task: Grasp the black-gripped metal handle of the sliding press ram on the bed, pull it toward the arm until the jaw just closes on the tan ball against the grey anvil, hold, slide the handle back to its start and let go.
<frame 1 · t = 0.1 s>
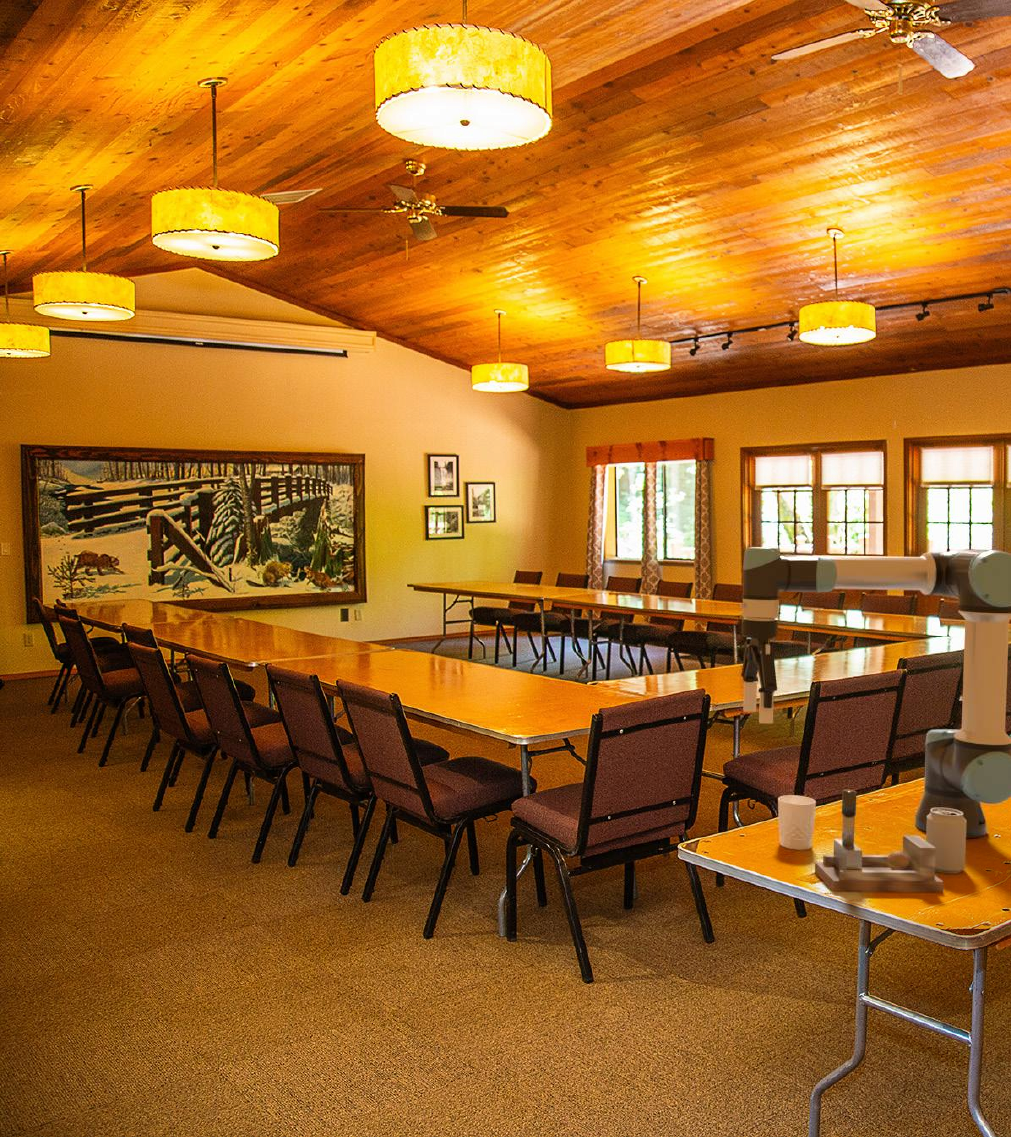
hand: (757, 717, 223), 28 cm above the table, fingers open, 13 cm apart
can: (944, 869, 211), on the table
tan ball: (897, 871, 202), point 2 cm above the table, touching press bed
ram: (848, 830, 202), point 10 cm above the table, slide at 0.0 cm
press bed: (877, 881, 202), on the table
white cup: (795, 846, 225), on the table
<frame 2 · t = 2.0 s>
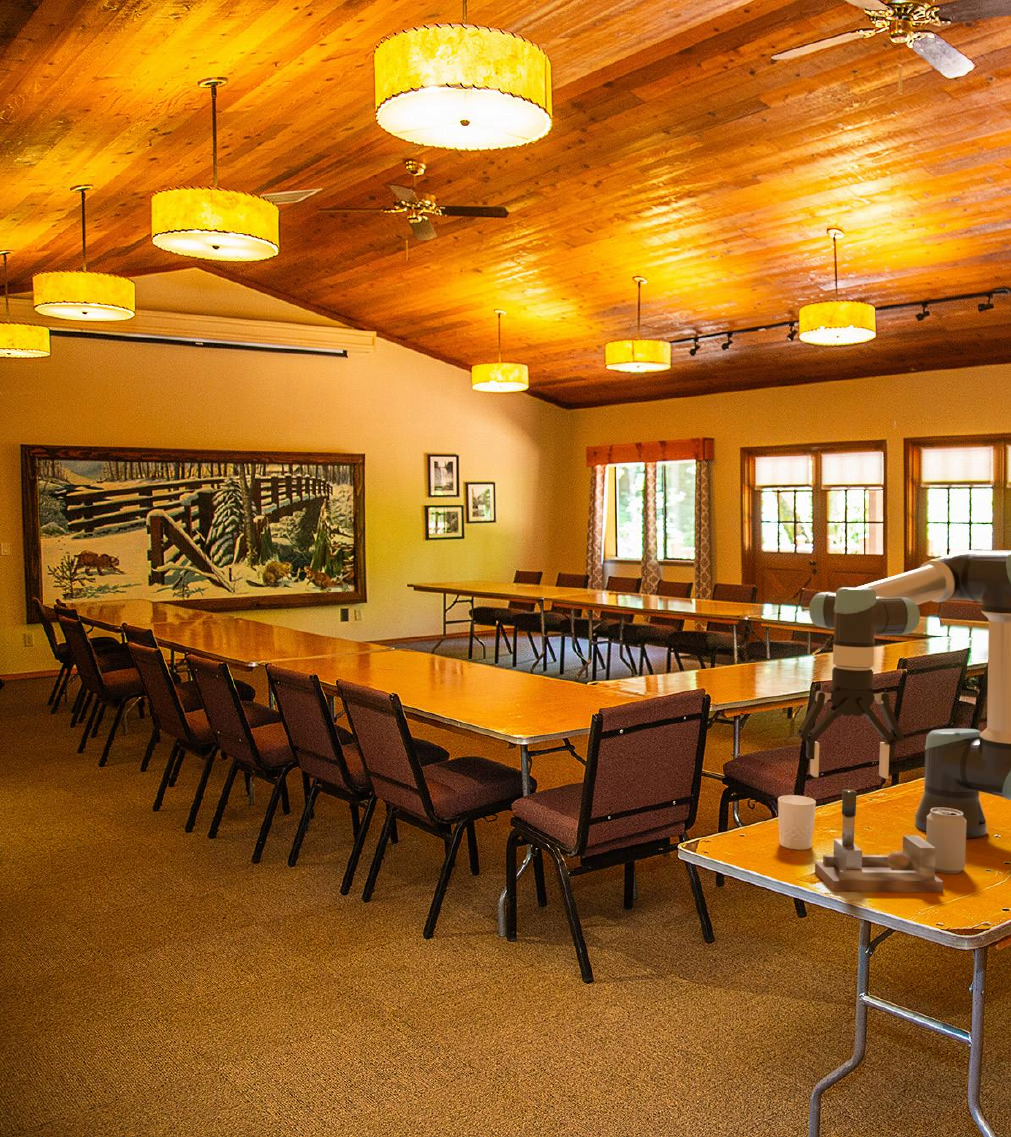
hand: (848, 776, 201), 21 cm above the table, fingers open, 13 cm apart
nothing on the table moved.
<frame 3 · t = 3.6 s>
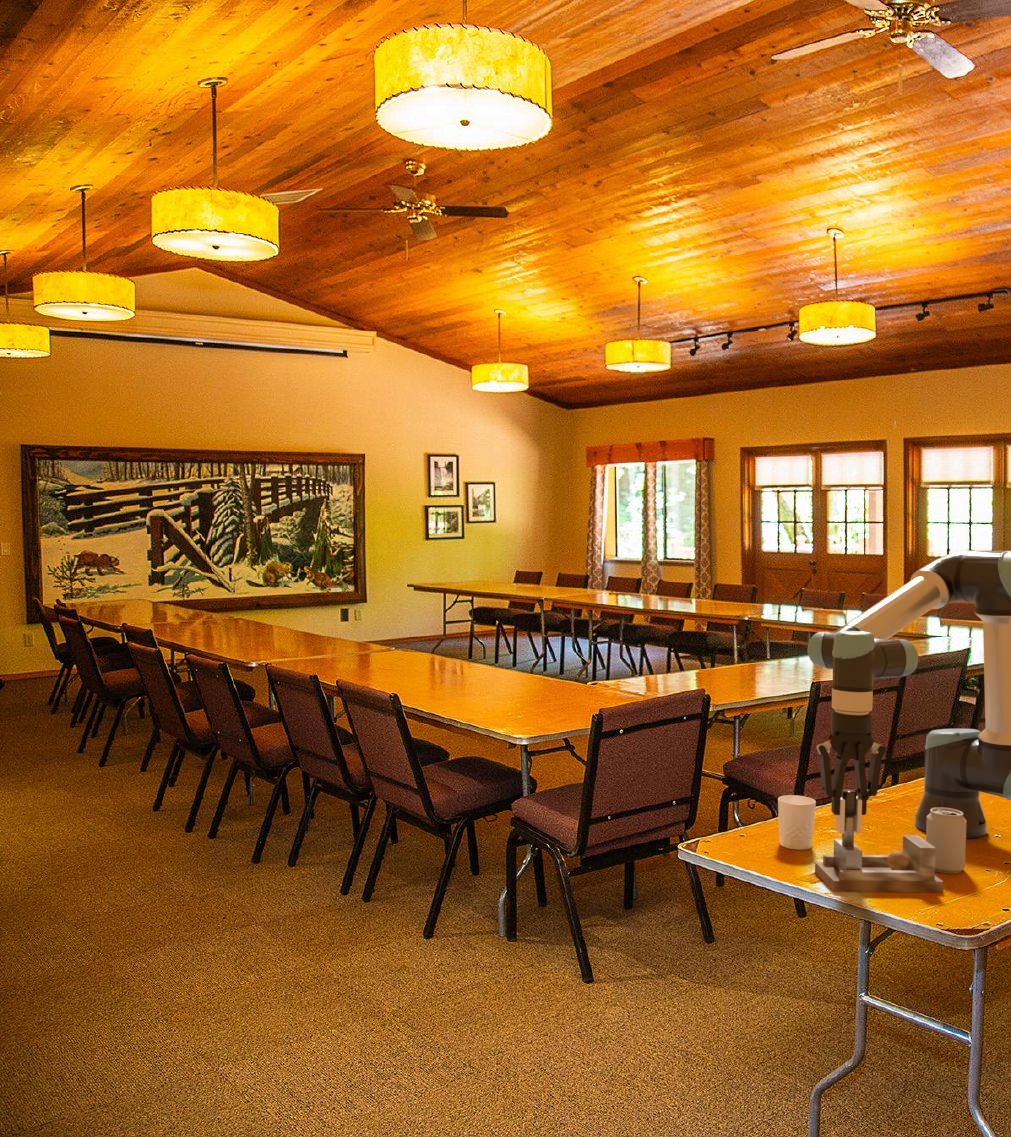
hand: (848, 830, 202), 10 cm above the table, fingers closed on ram, 3 cm apart
ram: (848, 830, 202), point 10 cm above the table, slide at 0.0 cm, touching gripper
everything else where it was.
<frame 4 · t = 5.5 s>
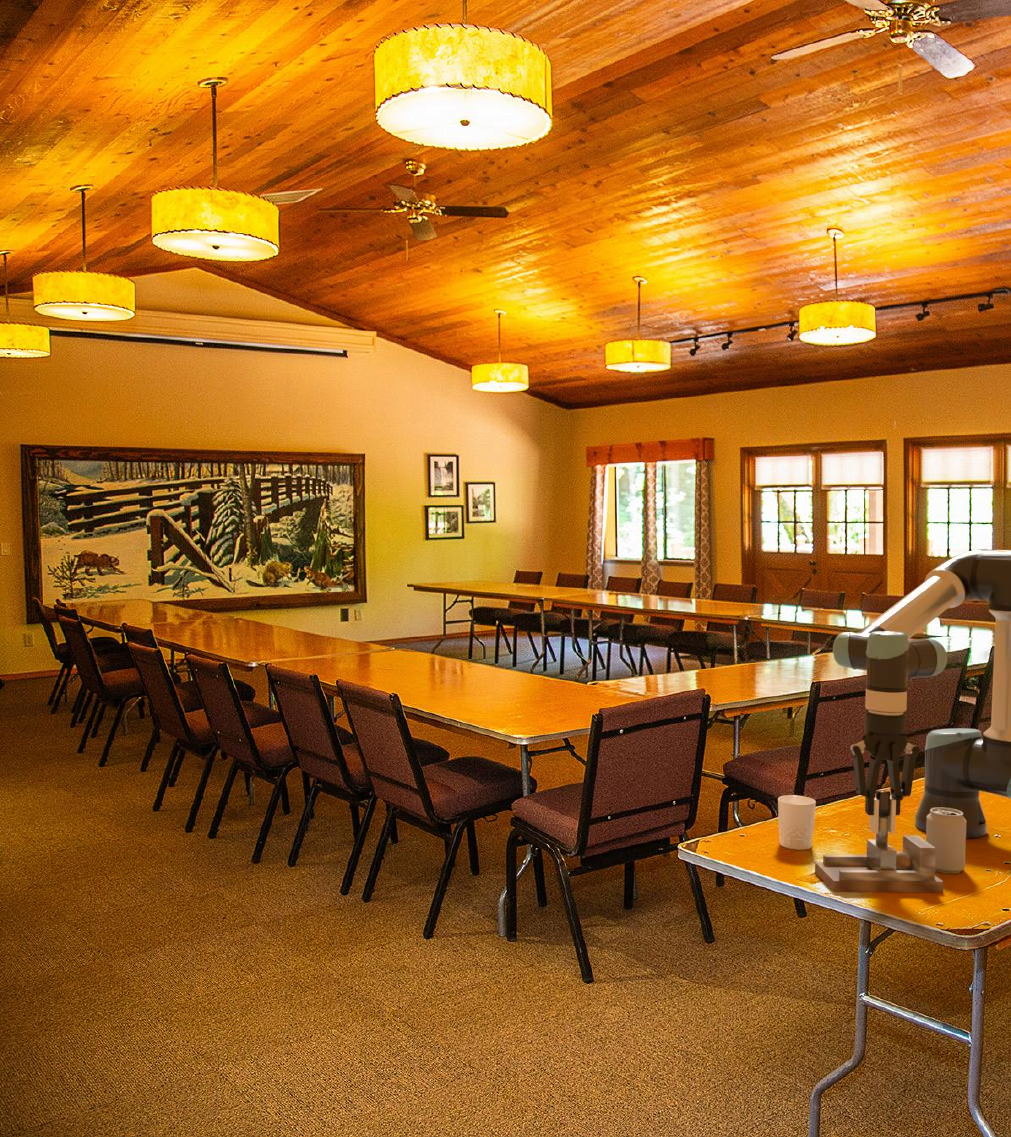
hand: (882, 831, 202), 10 cm above the table, fingers closed on ram, 3 cm apart
tan ball: (897, 871, 202), point 2 cm above the table, tilted 9°, touching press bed
ram: (881, 830, 202), point 10 cm above the table, slide at 6.6 cm, touching gripper
everything else where it was.
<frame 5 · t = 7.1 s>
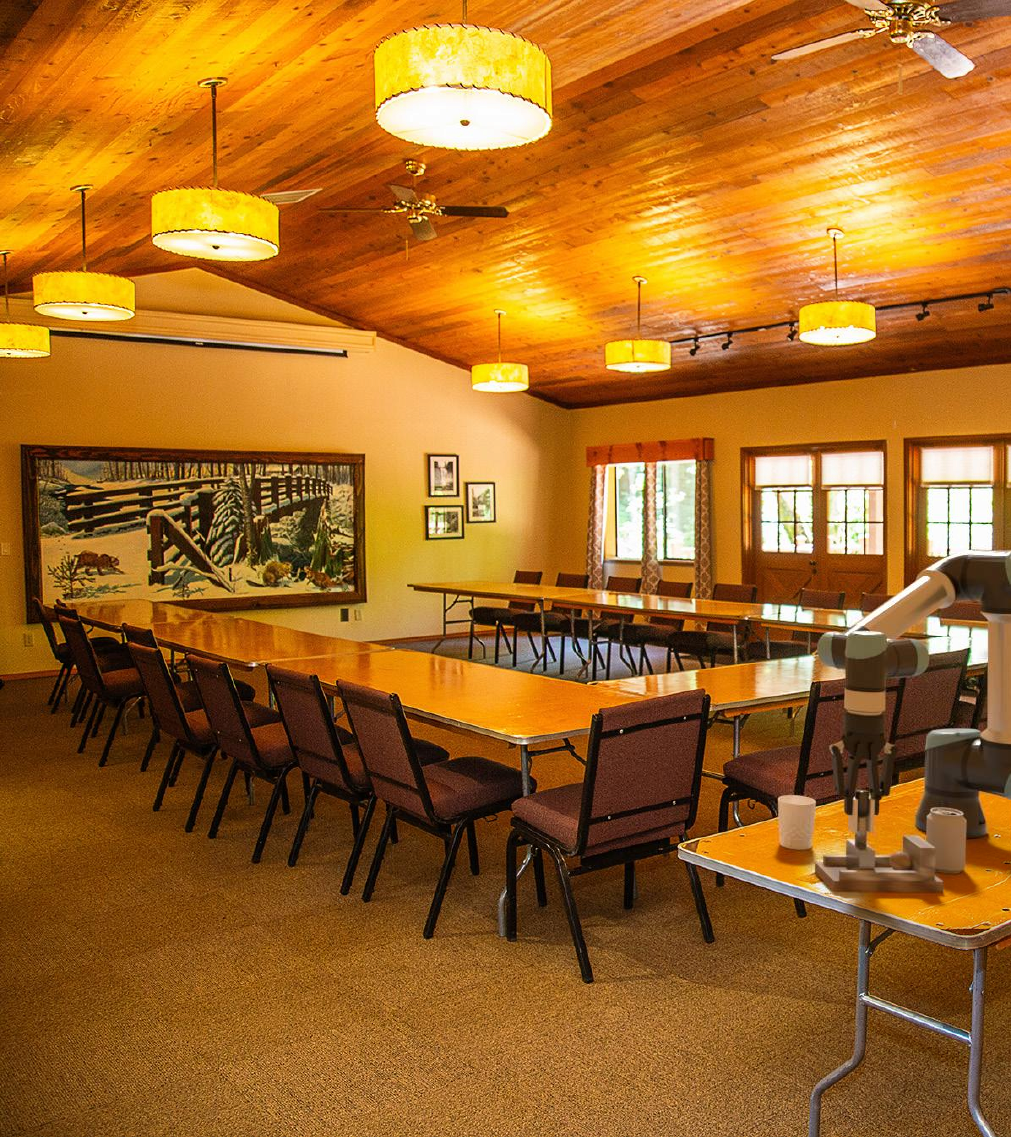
hand: (860, 830, 202), 10 cm above the table, fingers closed on ram, 3 cm apart
ram: (861, 830, 202), point 10 cm above the table, slide at 2.5 cm, touching gripper
everything else where it was.
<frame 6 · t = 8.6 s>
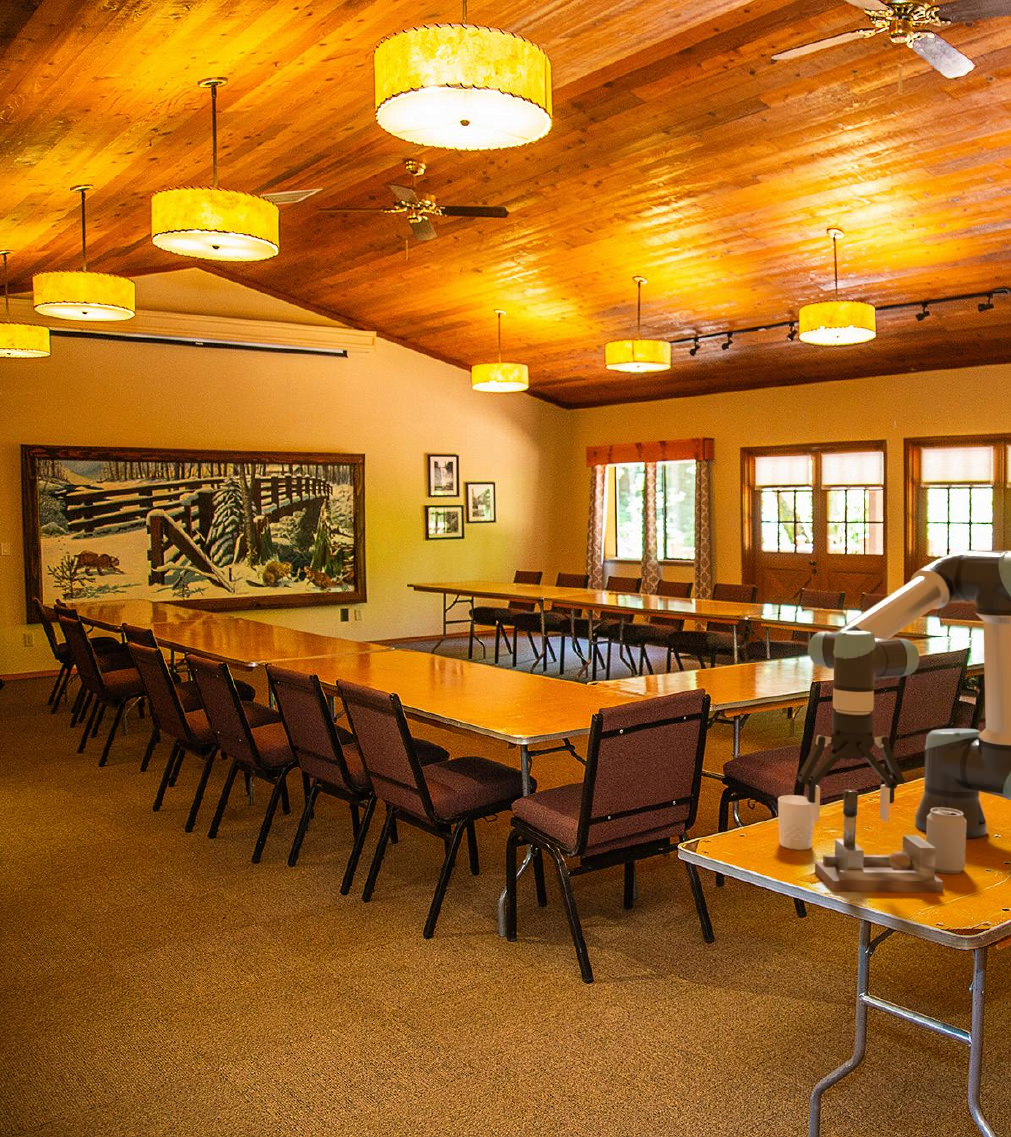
hand: (849, 819, 201), 12 cm above the table, fingers open, 13 cm apart
ram: (849, 830, 202), point 10 cm above the table, slide at 0.3 cm
everything else where it was.
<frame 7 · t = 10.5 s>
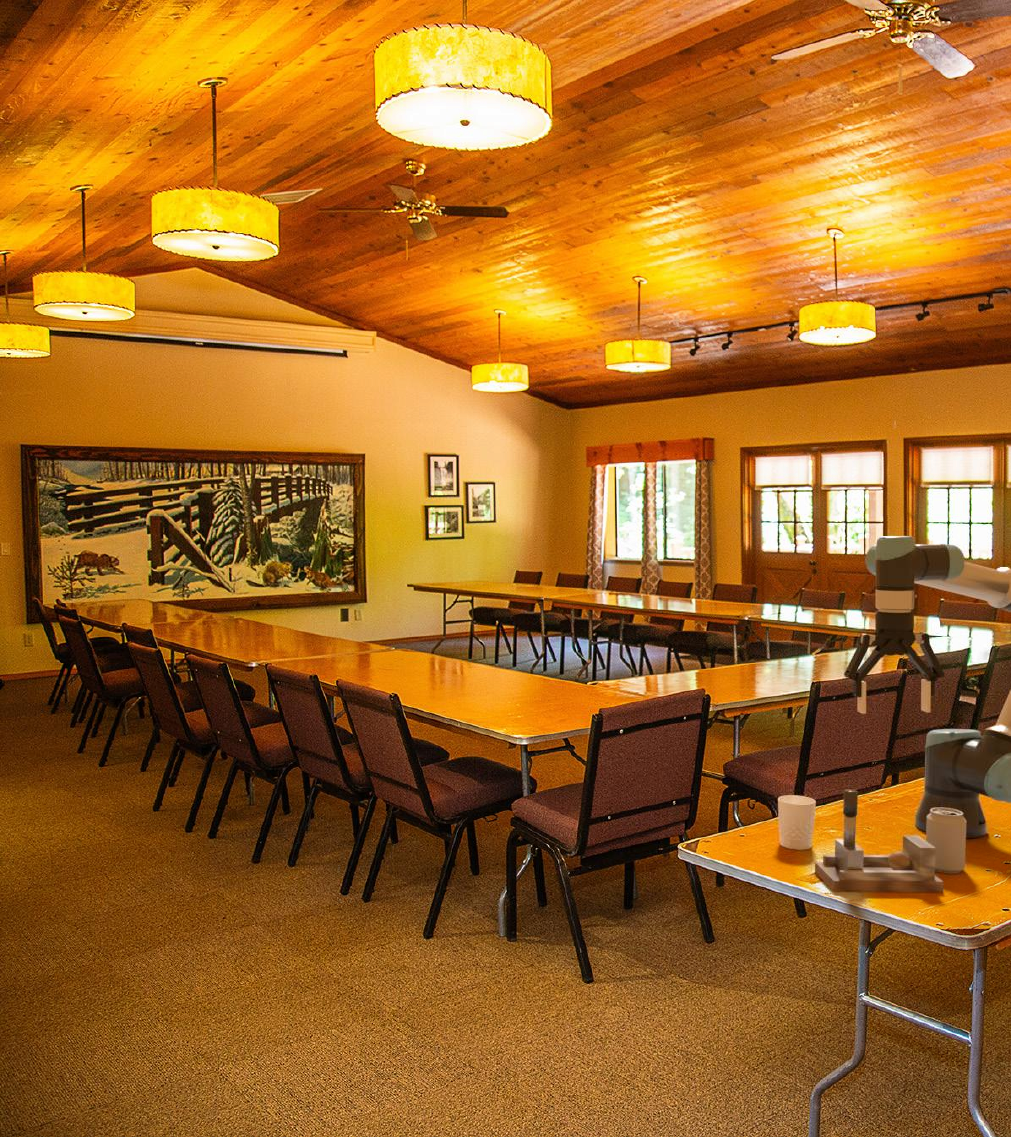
hand: (893, 712, 216), 31 cm above the table, fingers open, 13 cm apart
nothing on the table moved.
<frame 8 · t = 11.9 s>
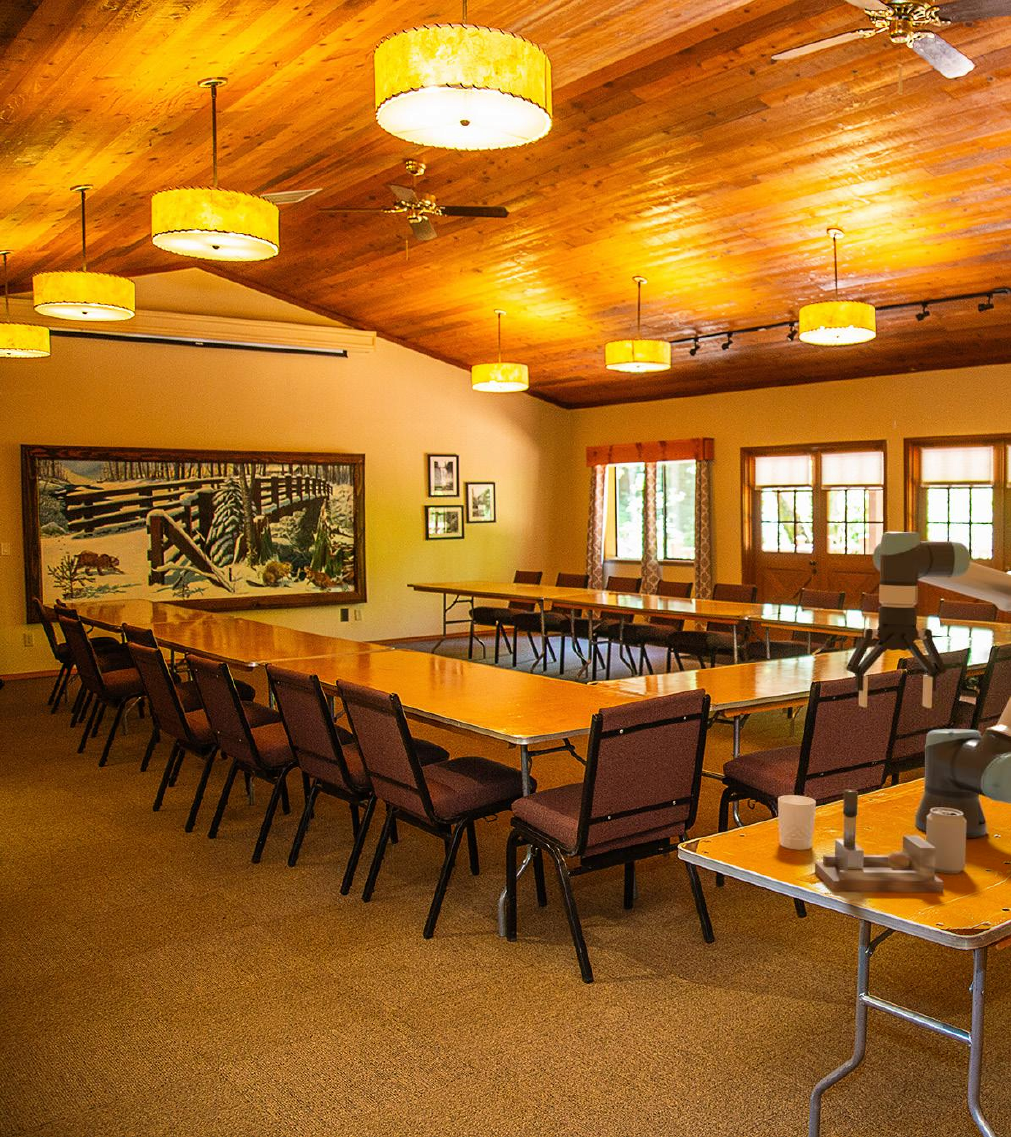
hand: (894, 706, 217), 32 cm above the table, fingers open, 13 cm apart
nothing on the table moved.
at the end: ram slide at 0.3 cm; tan ball 0.2 cm from the target spot on the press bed, point 2.0 cm above the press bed's base; the gripper is holding nothing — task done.
